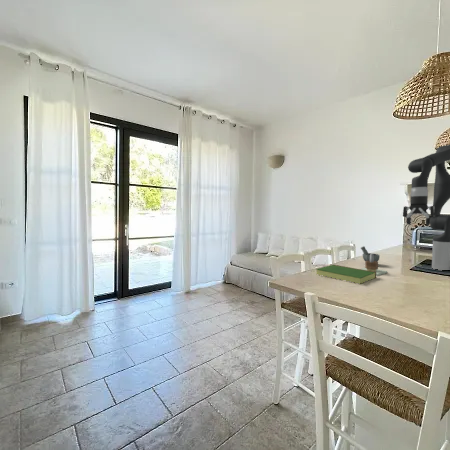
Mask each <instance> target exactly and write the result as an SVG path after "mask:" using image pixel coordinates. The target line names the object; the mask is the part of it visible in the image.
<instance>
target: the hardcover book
mask: <svg viewBox="0 0 450 450" xmlns="http://www.w3.org/2000/svg"><path fill="white" fill-rule="evenodd" d="M315 270H316V275H317V274H319V275H318V276H320V275H323V276H322V277H325V276H327V277H326V278H329V277H332V278H331V279H334V278H336V279H335V280H338V279H341V280H340V281H343V280H346V281H345V282H347V281H351V282H350V283H352V282H355V283H354V284H356V283H359V284H358V285H361V284H360V283H362V284H364V283H366V282H365V281H367V282H369V281H371V279H372V280H374V279H376V278H377V276H376V272H373V271H367V270H362V269H361V268H354V267H349V266H345V265H340V264H339V265H338V264H331V265H327V266H323V267H319V268H316V269H315ZM368 280H369V281H368ZM363 282H364V283H363Z"/></svg>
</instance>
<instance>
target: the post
mask: <svg viewBox="0 0 450 450" xmlns="http://www.w3.org/2000/svg"><path fill="white" fill-rule="evenodd" d="M374 254H375V253H372V254H370V262H374ZM360 269H362V270H367V271H373V272H376V277H377V276H380V275H384V274H388V270H383V269H379V268H378V269H377V270H371V269H366V268H365V267H362V268H360Z"/></svg>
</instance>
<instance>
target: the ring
mask: <svg viewBox="0 0 450 450" xmlns="http://www.w3.org/2000/svg"><path fill="white" fill-rule="evenodd" d="M364 263H365V264H364V265H365V266H364V268H366V269H371V270H377V269H379V261H378V262H376V261H374V262H370V261H364Z"/></svg>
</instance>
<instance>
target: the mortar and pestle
mask: <svg viewBox="0 0 450 450" xmlns="http://www.w3.org/2000/svg"><path fill="white" fill-rule="evenodd" d="M360 250H361V251H362V259H363V261H364V262H365V261H370V254H374V261H376V262H378V263H379V260H380V256H381V255H380V254H378V253H370V252H368V250H367V249H366V246H364V245H363V246H361V247H360Z"/></svg>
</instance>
